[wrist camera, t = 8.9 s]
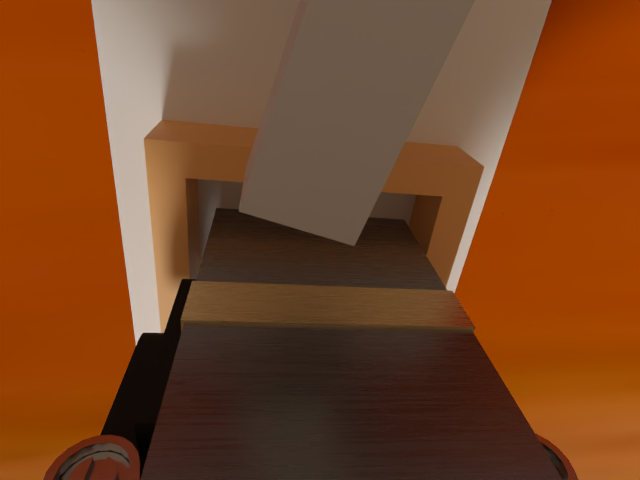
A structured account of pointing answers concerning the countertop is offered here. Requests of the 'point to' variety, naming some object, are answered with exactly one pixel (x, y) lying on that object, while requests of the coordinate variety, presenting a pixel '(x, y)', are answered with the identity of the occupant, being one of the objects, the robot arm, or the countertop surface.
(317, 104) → the stand
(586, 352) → the countertop surface
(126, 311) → the countertop surface
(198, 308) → the block
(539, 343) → the countertop surface
